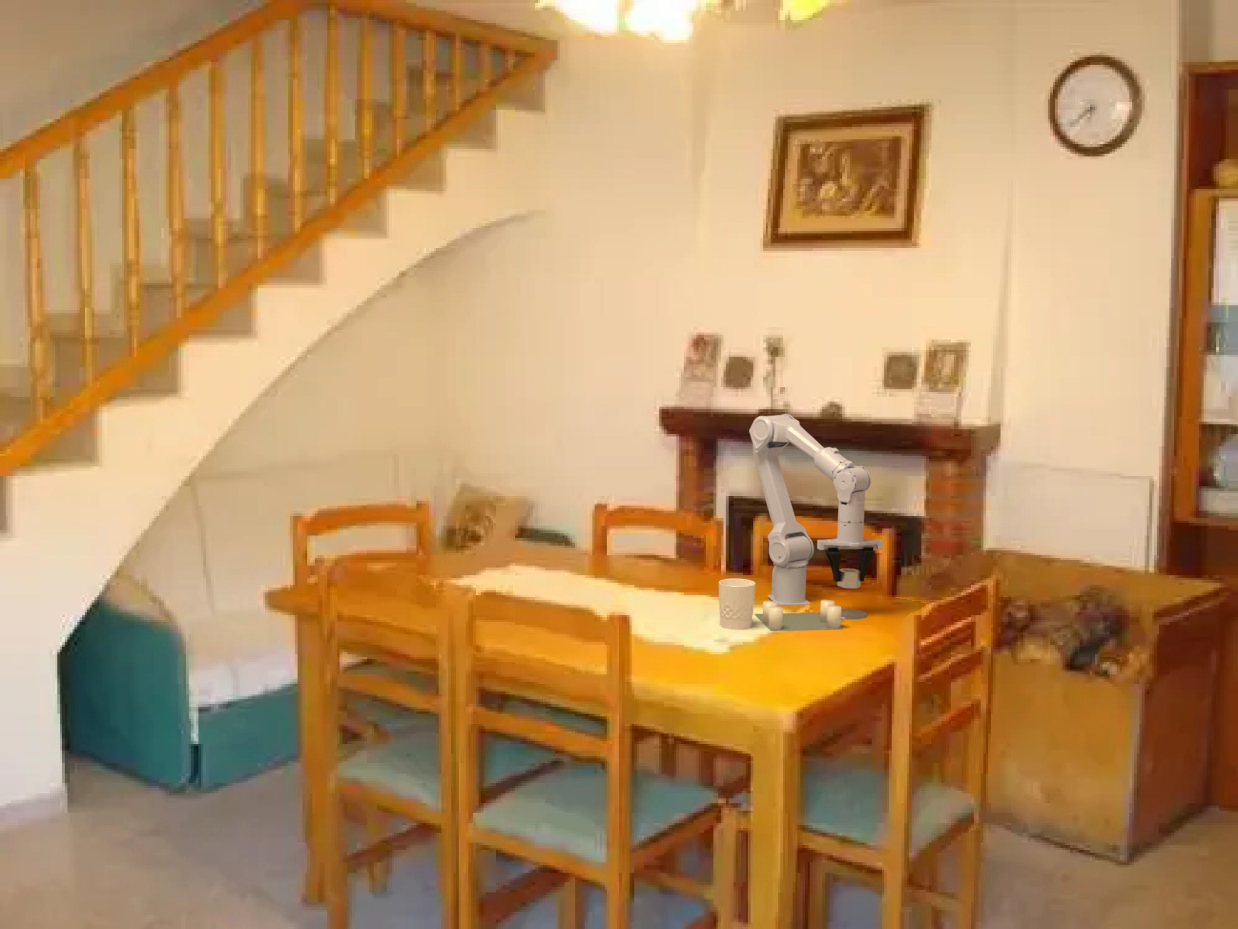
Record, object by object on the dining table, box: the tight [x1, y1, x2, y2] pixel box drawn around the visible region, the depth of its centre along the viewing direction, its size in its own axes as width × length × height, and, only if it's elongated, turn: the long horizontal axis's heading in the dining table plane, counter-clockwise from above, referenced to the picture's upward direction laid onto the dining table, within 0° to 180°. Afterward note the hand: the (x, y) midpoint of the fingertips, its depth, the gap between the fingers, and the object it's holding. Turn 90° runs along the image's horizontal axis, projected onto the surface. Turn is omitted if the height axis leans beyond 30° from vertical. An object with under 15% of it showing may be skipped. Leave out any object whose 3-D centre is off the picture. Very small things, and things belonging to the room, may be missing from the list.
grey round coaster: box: [841, 608, 868, 620], centre depth 317 cm, size 9×9×1 cm
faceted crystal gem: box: [836, 567, 862, 589], centre depth 316 cm, size 5×4×4 cm
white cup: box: [718, 578, 756, 631], centre depth 305 cm, size 8×8×10 cm
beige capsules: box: [762, 599, 842, 630], centre depth 307 cm, size 8×16×4 cm, turn 98°
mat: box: [753, 612, 844, 632], centre depth 310 cm, size 15×16×1 cm
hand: (848, 580), depth 316 cm, fingers closed on faceted crystal gem, 5 cm apart
